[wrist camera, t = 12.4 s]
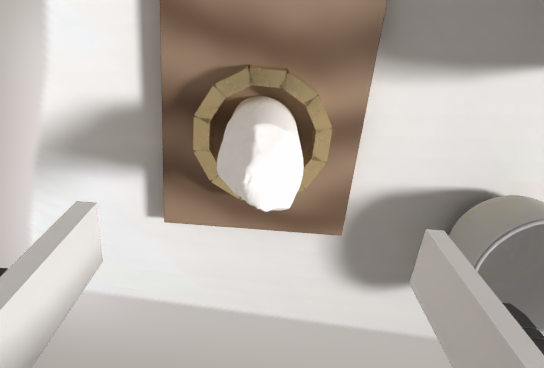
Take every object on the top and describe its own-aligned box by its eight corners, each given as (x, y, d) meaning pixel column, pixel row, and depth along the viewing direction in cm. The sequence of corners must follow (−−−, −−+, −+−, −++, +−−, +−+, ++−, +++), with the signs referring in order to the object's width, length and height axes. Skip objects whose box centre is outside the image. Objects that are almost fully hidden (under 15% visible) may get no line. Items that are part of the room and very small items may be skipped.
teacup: (425, 280, 39) (462, 341, 32) (438, 182, 35) (485, 227, 27) (563, 272, 39) (632, 332, 32) (593, 174, 35) (681, 217, 27)
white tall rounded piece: (332, 217, 21) (242, 260, 22) (309, 146, 32) (250, 177, 33) (280, 121, 18) (182, 173, 19) (275, 81, 29) (212, 115, 30)
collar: (199, 59, 29) (194, 62, 27) (336, 72, 29) (341, 76, 27) (196, 185, 33) (192, 196, 31) (316, 195, 33) (319, 206, 31)
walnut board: (164, -31, 28) (159, -34, 26) (383, -8, 28) (389, -9, 27) (168, 214, 36) (164, 222, 34) (338, 227, 36) (341, 235, 35)
